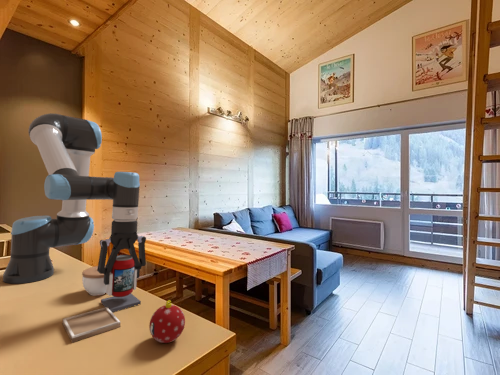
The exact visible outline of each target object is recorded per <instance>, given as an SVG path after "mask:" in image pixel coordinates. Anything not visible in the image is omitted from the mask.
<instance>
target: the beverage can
mask: <svg viewBox="0 0 500 375" xmlns="http://www.w3.org/2000/svg"><path fill="white" fill-rule="evenodd" d="M111 273H112V274H113V281H112V295H111V297H113V296H114V297H125V296H128V295H129V294H130V293H131V294H133V291H134V290H133V283H134V259H133V258H132V256H131V255H130V254H120V255H119V254H118V255H117V258H116V260H115V262H114V265H113V267H112V270H111Z"/></svg>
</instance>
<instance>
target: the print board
mask: <svg viewBox="0 0 500 375" xmlns="http://www.w3.org/2000/svg"><path fill="white" fill-rule="evenodd" d="M62 326H63V327H64V329H65V332H66V333H67V335H68V337H69V339H70V341H71V343H75V342H78V340H79V341H81V340H84V339H87V338H91V337H94V336H97V335H99V334H103V333H105V332H108V331H112V330H115V329H118V328H121V321H120V319H119V318H118V317H117V316H116V315H115V314H114V312H111V311H110V310H109V308H108V307H105V306H104V307H102V308H99V309H94V310H91V311H88V312H82V313H80V314H75V315H73V316H69V317H64V318H62Z"/></svg>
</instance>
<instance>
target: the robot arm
mask: <svg viewBox="0 0 500 375" xmlns="http://www.w3.org/2000/svg"><path fill="white" fill-rule="evenodd" d="M102 136H103V134H102V131H101V127H100V126H99V124H98V123H96V122H94V121H92V120H88V119H85V118H78V117H74V116H68V115H63V114H60V113H46V114H45V113H44V114H42V115H39V116H38V117H35V119H33V120H32V122H31V123H30V124H29V127H28V137H29V138H30V141H31V142H32V143H33V144H34V145H35V146H36V147H37V149H38V151H39V154H40V157H41V159H42V161H43V163H44V166H45V169H46V171H47V173H48V175H47V176H46V177H45V180H44V185H43V187H44V195H45V197H46V198H48V199H49V200H58V201H59V200H61V201H62V205H61V210H60V211H58V212H57V213H56V218H52V216H50V215H34V216H28V217H22V218H19V219H16V220H15V221H14V222H13V223H12V226H11V232H10V235H11V240H10V259H9V261H8V263H7V266H6V268H5V270H4V271H3V275H2V276H3V277H2V282H4V283H6V284H26V283H32V282H33V283H34V282H38V281H42V280H45V279H48V278H50V277H52V276H53V275H54V273H55V271H54V270H55V267H54V265H53V262H52V259H51V256H50V249H51V248H52V249H53V248H59V247H67V246H73V245H74V246H77V245H81V244H82V245H83V244H86V243H87V242H89V241H90V240H91V238H92V236H93V234H94V230H95V224H94V219H93V217H91V216H90V213H89V212H88V211H87V210H86V209H87V200H89V201H90V200H95V201H96V200H99V201H100V200H101V201H102V200H112V209H111V210H112V212H111V219H112V221H111V232H110V233H111V234H110V236H109V237H108V238H107V239H100V240H99V245H100V252H99V257H98V261H97V262H98V263H97V266H98V269H97V271H98V272H99V273H100V274H104V284H105V285H107V289H106V295H108V296H109V297H112V281H113V274H112V273H111V270H112V267H113V265H114V262H115V260H116V258H117V256H119V253H120V252H121V251H122V250H124V249H125V250H128V253H129V255H131V256H132V258H133V259H134V283H133V291H134V290H137V282H138V280H137V279H140V270H141V269H142V267H144V266H146V265H147V262H146V240H147V237H146V236H143V235H138V222H139V221H138V220H137V219H138V217H139V201H140V200H139V198H140V186H141V184H140V175H139V173H137V172H129V171H116V172H115V173H114V174H113V177H112V176H110V177H109V176H108V177H107V176H103V177H101V176H90V165H91V156H92V155H94V154H95V152H96V150H99V149H100V148H101V145H102V142H103V140H102V138H103V137H102ZM136 242H137V244H138V245H137V248H138V254H137V252H136V247H135V245H134V244H135V243H136ZM110 244H112V248H111V252H110V255H109V256H108V259H107V255H108V247H109V246H110Z"/></svg>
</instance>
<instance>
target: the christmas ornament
mask: <svg viewBox="0 0 500 375" xmlns="http://www.w3.org/2000/svg"><path fill="white" fill-rule="evenodd" d="M148 326H149V333H150V335H151V337H152V338H153V339H154V340H155V341H156V342H158V343H160V344H161V343H162V344H168V343H172V342H174V341H175V340H177V339H178V338H179V337H180V336H181V335H182V333H183V331H184V328H185V326H186V317H185V313H184V312H183V310H182V309H181V308H180V307H179V306H177V305H174V304H172V301H171V300H170V299H169V300H167V301H166V302H165V304H164V305H162V306H160V307H158V308H157V309H156V310H155V312H153V313H152V315H151V317H150V320H149V325H148Z"/></svg>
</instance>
